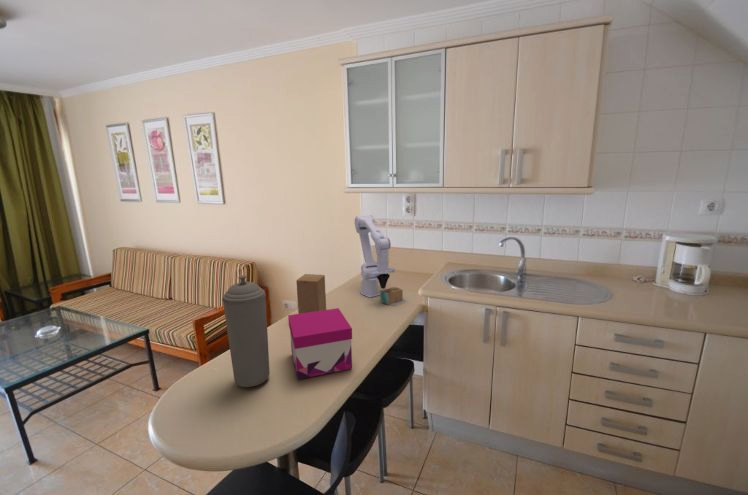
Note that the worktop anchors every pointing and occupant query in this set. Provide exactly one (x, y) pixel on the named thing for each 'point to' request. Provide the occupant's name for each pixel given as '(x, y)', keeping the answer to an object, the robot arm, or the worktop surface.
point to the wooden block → (311, 293)
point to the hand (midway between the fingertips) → (383, 288)
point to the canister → (247, 332)
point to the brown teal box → (391, 295)
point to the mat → (398, 302)
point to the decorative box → (320, 342)
